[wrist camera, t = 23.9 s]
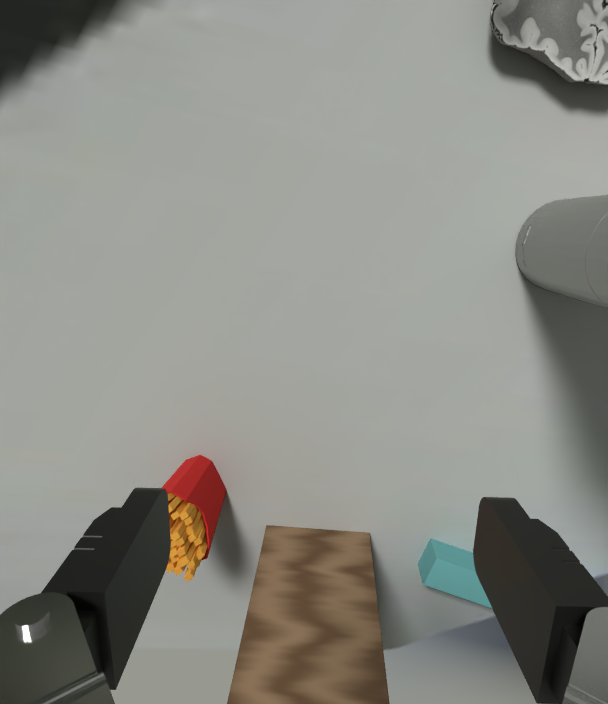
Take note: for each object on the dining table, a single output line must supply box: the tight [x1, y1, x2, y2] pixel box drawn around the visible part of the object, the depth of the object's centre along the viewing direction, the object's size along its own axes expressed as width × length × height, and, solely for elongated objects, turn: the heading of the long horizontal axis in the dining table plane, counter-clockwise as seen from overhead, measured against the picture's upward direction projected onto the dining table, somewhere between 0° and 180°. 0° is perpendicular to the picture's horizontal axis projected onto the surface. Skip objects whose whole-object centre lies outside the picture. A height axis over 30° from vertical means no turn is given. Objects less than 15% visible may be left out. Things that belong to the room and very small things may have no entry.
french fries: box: [162, 455, 226, 582], centre depth 52 cm, size 9×4×13 cm, turn 22°
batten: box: [418, 539, 492, 608], centre depth 58 cm, size 24×4×4 cm, turn 71°
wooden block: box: [227, 526, 389, 704], centre depth 46 cm, size 13×12×32 cm
